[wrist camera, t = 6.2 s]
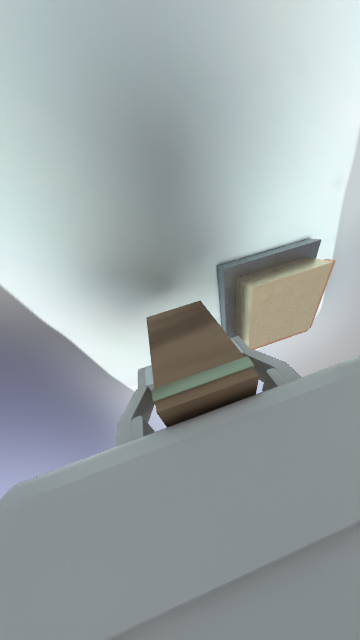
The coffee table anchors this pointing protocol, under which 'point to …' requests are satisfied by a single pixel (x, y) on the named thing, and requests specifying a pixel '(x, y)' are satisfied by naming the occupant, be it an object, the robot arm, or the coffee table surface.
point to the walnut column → (195, 365)
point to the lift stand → (272, 293)
